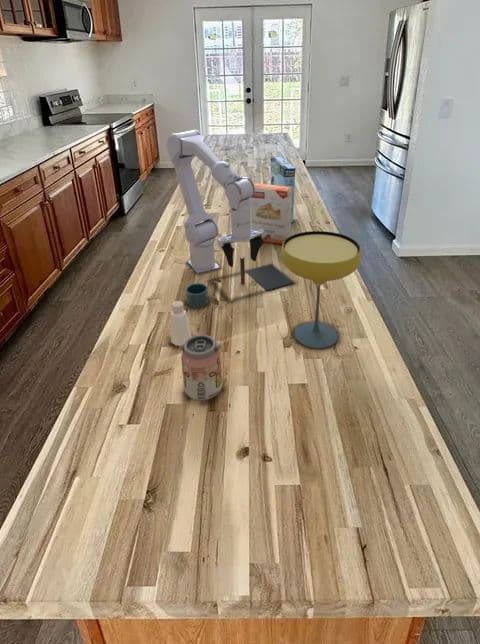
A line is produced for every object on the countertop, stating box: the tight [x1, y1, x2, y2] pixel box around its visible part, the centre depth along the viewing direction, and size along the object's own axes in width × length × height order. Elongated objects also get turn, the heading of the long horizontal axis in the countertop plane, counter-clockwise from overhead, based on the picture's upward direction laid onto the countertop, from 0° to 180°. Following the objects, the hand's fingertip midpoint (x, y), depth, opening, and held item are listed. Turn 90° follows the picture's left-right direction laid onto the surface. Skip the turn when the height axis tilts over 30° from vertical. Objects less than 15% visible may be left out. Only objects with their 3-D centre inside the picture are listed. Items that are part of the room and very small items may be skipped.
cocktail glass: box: [281, 230, 362, 349], centre depth 105 cm, size 18×18×25 cm
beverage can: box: [179, 334, 223, 402], centre depth 92 cm, size 9×8×12 cm
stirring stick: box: [239, 255, 246, 285], centre depth 132 cm, size 1×1×9 cm
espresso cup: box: [185, 283, 209, 308], centre depth 125 cm, size 6×6×4 cm
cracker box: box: [250, 182, 292, 245], centre depth 159 cm, size 14×6×21 cm, turn 68°
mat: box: [245, 264, 294, 292], centre depth 135 cm, size 14×22×1 cm, turn 116°
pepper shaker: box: [170, 300, 192, 347], centre depth 107 cm, size 5×5×11 cm
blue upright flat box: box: [269, 156, 296, 223], centre depth 183 cm, size 20×5×23 cm, turn 13°
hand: (242, 262), depth 131 cm, fingers open, 7 cm apart
